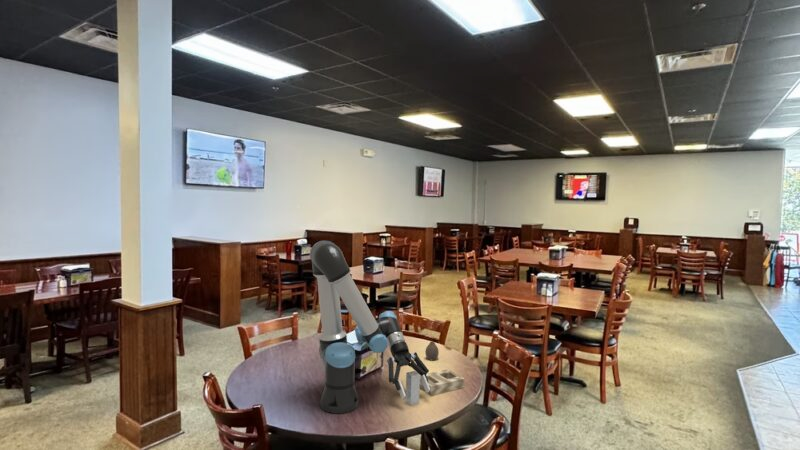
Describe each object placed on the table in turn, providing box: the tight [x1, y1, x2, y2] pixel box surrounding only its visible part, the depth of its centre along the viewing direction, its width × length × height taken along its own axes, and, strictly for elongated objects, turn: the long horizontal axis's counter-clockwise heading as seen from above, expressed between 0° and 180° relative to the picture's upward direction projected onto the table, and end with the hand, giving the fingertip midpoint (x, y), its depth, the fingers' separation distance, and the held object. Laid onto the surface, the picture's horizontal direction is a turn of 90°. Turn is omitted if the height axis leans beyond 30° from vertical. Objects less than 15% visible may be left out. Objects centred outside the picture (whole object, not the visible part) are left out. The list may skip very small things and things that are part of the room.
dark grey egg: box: [424, 341, 440, 361], centre depth 223 cm, size 7×7×9 cm
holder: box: [419, 368, 465, 397], centre depth 190 cm, size 18×12×4 cm, turn 121°
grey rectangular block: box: [405, 370, 420, 406], centre depth 174 cm, size 4×4×12 cm
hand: (416, 394), depth 172 cm, fingers open, 11 cm apart
